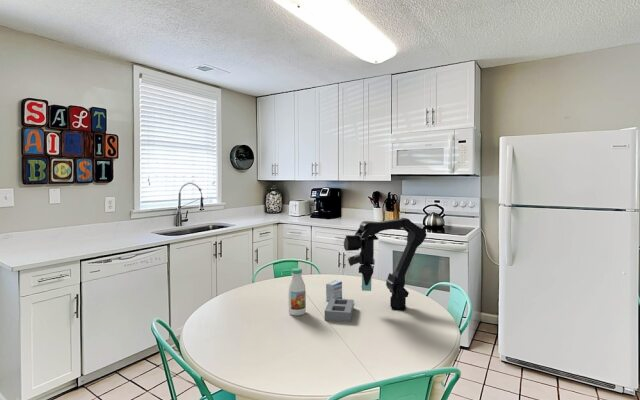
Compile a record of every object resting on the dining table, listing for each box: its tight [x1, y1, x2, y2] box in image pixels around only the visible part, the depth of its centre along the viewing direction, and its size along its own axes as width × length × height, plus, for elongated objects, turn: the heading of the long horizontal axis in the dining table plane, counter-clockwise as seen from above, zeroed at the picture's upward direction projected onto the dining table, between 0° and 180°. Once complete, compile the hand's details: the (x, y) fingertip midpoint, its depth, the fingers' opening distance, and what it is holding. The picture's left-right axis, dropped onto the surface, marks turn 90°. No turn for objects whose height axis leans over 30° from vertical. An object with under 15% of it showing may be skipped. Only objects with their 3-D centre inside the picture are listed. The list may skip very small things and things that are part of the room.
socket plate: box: [324, 298, 355, 323], centre depth 160 cm, size 11×16×4 cm
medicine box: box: [325, 279, 343, 302], centre depth 178 cm, size 8×4×9 cm, turn 143°
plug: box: [361, 273, 373, 292], centre depth 162 cm, size 4×4×9 cm
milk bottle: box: [287, 267, 307, 317], centre depth 161 cm, size 8×8×20 cm
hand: (366, 283), depth 162 cm, fingers closed on plug, 4 cm apart
